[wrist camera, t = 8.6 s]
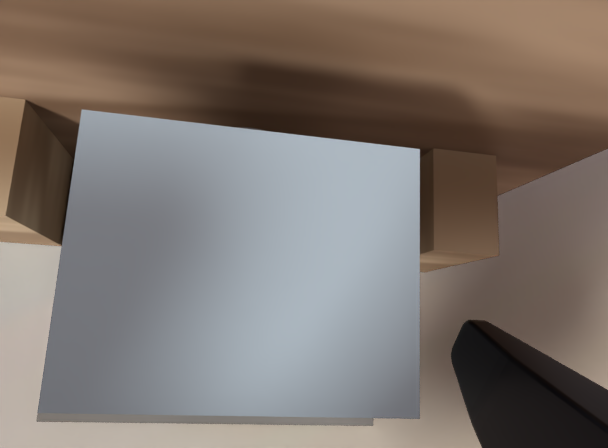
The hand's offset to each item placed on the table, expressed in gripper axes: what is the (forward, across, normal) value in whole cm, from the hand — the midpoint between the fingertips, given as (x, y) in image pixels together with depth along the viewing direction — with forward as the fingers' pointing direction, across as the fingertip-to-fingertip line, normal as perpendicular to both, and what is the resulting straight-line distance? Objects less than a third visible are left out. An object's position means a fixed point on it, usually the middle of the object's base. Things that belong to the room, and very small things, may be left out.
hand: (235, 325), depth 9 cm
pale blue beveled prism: (+6, 0, -5) cm, 8 cm away
